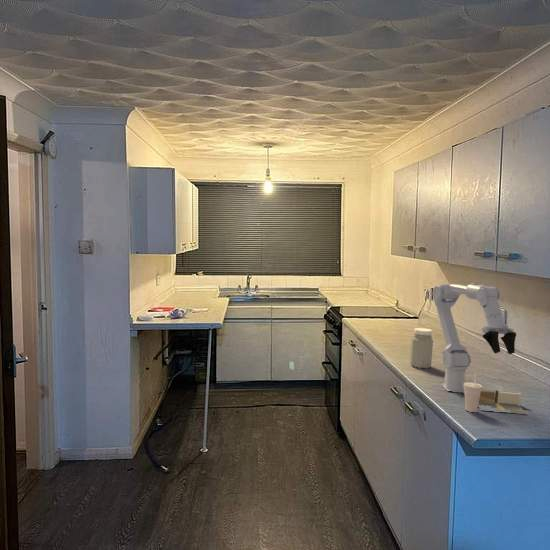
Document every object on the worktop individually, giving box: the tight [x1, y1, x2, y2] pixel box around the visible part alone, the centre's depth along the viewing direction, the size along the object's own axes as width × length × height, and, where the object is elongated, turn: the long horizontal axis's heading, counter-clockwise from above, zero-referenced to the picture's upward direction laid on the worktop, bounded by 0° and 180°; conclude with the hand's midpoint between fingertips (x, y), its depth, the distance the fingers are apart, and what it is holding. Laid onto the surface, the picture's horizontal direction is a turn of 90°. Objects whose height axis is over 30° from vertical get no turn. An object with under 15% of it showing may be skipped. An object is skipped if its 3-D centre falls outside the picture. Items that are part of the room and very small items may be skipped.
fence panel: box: [498, 391, 522, 406], centre depth 188 cm, size 8×1×4 cm, turn 83°
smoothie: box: [464, 372, 483, 413], centre depth 179 cm, size 6×6×14 cm
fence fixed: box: [479, 390, 499, 403], centre depth 189 cm, size 1×10×5 cm, turn 83°
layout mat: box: [477, 399, 528, 415], centre depth 187 cm, size 16×16×1 cm
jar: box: [409, 327, 434, 369], centre depth 238 cm, size 10×10×18 cm
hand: (504, 353), depth 177 cm, fingers open, 7 cm apart
